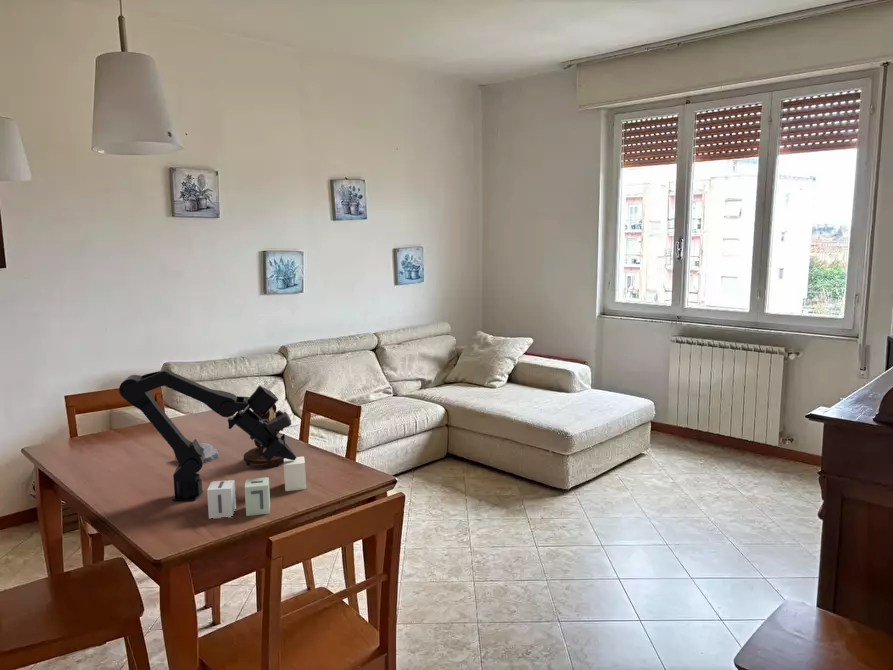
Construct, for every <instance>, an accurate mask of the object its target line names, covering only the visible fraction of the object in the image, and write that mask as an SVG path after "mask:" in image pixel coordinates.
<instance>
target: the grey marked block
mask: <svg viewBox="0 0 893 670" xmlns="http://www.w3.org/2000/svg"><path fill="white" fill-rule="evenodd" d="M206 491H207V507H208V508H207V509H208V511H207V512H208V519H209V520H211V518H213V519H222V518H221V517H228V518H232V517H231V516H233V517H234V515H233V514H235V512H234V511H236V510H237V499H236V498H237V497H236V481H235V479H231V480H229V479H228V480H216V481H210V484H209V486H208V488H207V489H206ZM235 509H236V510H235Z"/></svg>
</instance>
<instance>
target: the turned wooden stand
mask: <svg viewBox="0 0 893 670" xmlns="http://www.w3.org/2000/svg"><path fill="white" fill-rule="evenodd" d="M252 411H253V410H252ZM253 412H254V411H253ZM275 412H277V405H276V403H275V404H274V405H273V406H272V407H271V408H270V410H269V411H268V412H267V413H266V414H262V415H258V414H257V413H255V412H254V413H255V414H256V415H258V416H259V417H260V418H261V419H267V420H268V421H270V420H272V419H273V418H275ZM277 436H279V433H278V434H277ZM253 442H254V444H255V447H254V448H251V449H249V450H248V451H246V452H244V454H243V461H244V462H245V463H246V466H247V465H251V464H252V465H270V464H271V465H272V464H274V466H275V467H277V466H278V465H279V462H284V458H281V457H276V456H273V458H272V459H271V460H270V461H267V460H266V459H265V458H263V448H262V447H261V444H260V443H258V442H257V441H256V440H255V439H253Z"/></svg>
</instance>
